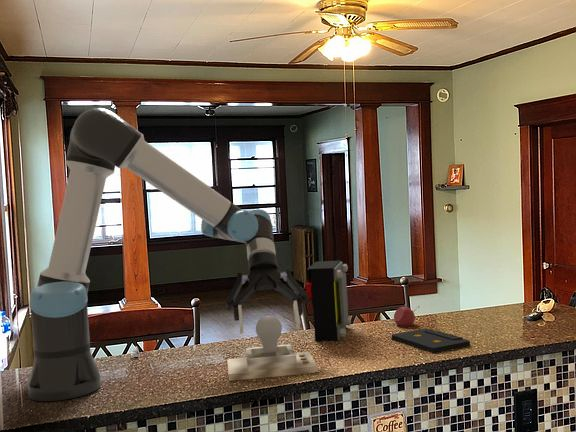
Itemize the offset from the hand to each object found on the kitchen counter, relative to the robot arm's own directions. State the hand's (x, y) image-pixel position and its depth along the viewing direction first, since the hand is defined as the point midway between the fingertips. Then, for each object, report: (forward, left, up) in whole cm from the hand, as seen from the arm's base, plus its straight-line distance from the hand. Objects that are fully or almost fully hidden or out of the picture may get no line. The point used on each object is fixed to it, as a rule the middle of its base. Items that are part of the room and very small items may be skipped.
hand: (270, 328), depth 144 cm
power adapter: (-36, +20, -9) cm, 42 cm away
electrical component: (+19, +27, -9) cm, 35 cm away
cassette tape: (+42, +8, -10) cm, 43 cm away
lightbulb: (0, -3, -7) cm, 8 cm away
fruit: (+43, +30, -9) cm, 54 cm away
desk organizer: (-1, -3, -9) cm, 9 cm away
